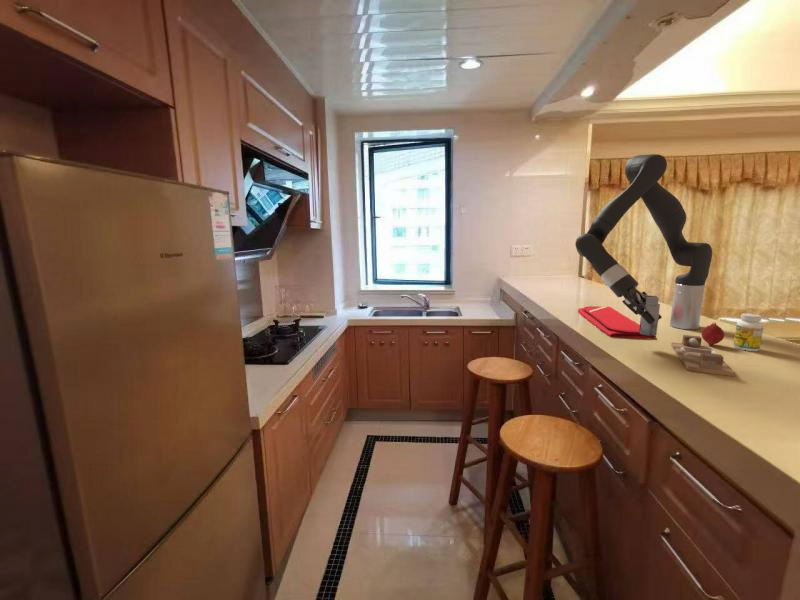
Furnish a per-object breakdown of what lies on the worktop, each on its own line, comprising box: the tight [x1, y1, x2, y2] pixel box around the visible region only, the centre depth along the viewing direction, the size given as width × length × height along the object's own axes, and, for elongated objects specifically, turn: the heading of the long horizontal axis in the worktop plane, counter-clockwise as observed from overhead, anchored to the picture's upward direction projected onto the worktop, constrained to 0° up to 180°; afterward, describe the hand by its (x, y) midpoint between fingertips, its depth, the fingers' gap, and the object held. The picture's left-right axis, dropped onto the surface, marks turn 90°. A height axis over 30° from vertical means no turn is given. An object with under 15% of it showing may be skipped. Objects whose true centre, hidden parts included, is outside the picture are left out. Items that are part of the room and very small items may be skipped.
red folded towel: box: [577, 305, 657, 340], centre depth 153 cm, size 16×41×4 cm, turn 170°
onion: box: [700, 321, 725, 346], centre depth 123 cm, size 6×6×8 cm
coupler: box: [639, 294, 661, 336], centre depth 120 cm, size 5×5×12 cm
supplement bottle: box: [733, 312, 764, 352], centre depth 119 cm, size 6×6×11 cm
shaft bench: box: [670, 334, 736, 377], centre depth 111 cm, size 24×10×5 cm, turn 153°
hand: (655, 320), depth 118 cm, fingers closed on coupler, 4 cm apart
